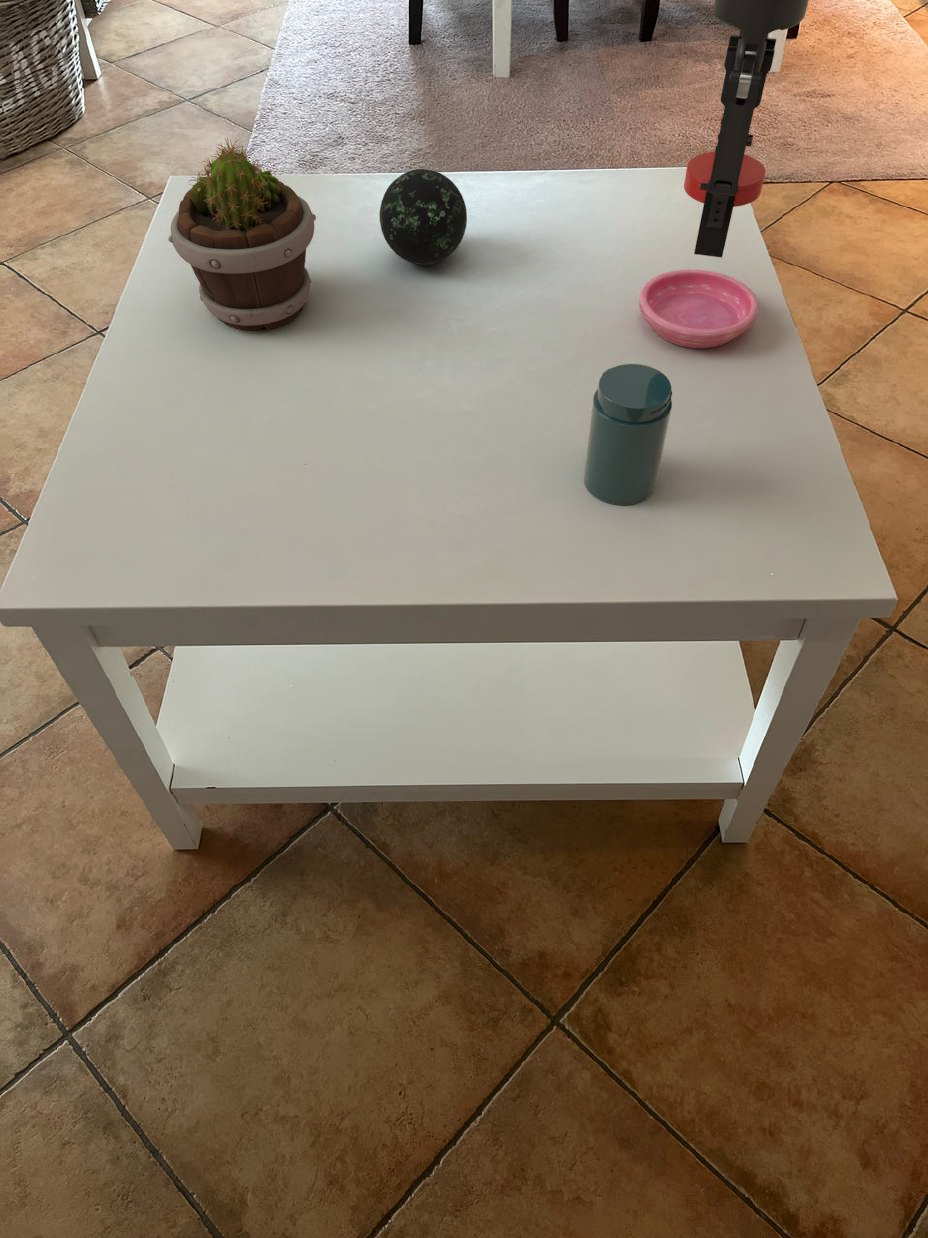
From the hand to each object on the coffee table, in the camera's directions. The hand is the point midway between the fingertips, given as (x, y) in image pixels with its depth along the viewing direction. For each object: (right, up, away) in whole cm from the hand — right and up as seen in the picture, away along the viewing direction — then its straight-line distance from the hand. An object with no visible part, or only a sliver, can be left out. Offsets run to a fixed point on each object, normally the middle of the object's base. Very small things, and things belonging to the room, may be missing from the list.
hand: (712, 232), depth 91 cm
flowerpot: (-48, -4, +11) cm, 49 cm away
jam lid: (0, +4, -5) cm, 6 cm away
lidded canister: (-11, -26, -7) cm, 29 cm away
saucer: (0, -7, +8) cm, 11 cm away
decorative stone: (-29, +4, +17) cm, 35 cm away
